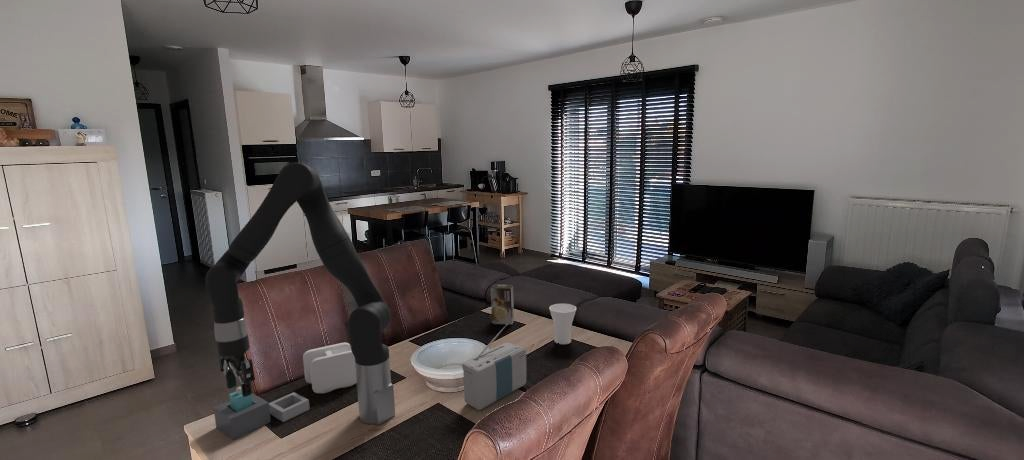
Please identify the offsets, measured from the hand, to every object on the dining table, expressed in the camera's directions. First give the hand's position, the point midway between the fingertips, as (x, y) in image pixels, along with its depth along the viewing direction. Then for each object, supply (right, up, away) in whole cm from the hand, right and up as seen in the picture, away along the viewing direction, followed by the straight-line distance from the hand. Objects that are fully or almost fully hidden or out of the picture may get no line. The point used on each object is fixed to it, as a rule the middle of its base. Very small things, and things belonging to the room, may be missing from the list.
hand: (239, 391), depth 131 cm
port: (0, -10, +2) cm, 10 cm away
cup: (+94, +1, +55) cm, 109 cm away
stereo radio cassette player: (+70, -7, +16) cm, 72 cm away
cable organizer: (+16, -6, +24) cm, 30 cm away
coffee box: (+71, +4, +77) cm, 104 cm away
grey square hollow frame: (+10, -9, +9) cm, 16 cm away
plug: (0, -9, +2) cm, 9 cm away
